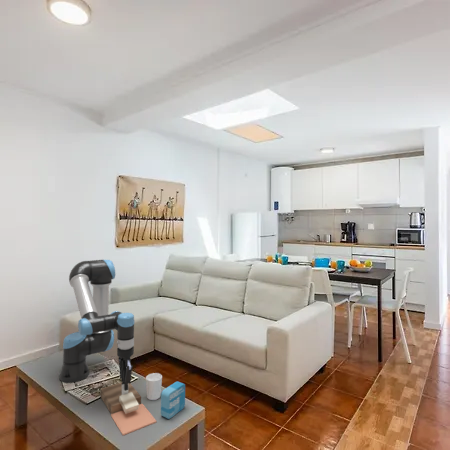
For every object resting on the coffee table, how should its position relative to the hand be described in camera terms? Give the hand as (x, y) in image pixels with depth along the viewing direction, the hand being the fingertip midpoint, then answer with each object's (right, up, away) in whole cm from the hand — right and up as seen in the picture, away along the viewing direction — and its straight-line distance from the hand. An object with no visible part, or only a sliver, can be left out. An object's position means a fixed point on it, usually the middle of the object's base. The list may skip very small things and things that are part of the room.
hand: (125, 395), depth 153 cm
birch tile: (+3, -2, -4) cm, 5 cm away
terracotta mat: (+6, -6, -9) cm, 12 cm away
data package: (+23, -6, -3) cm, 24 cm away
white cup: (+12, -6, +10) cm, 16 cm away
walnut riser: (-4, -5, +5) cm, 8 cm away
